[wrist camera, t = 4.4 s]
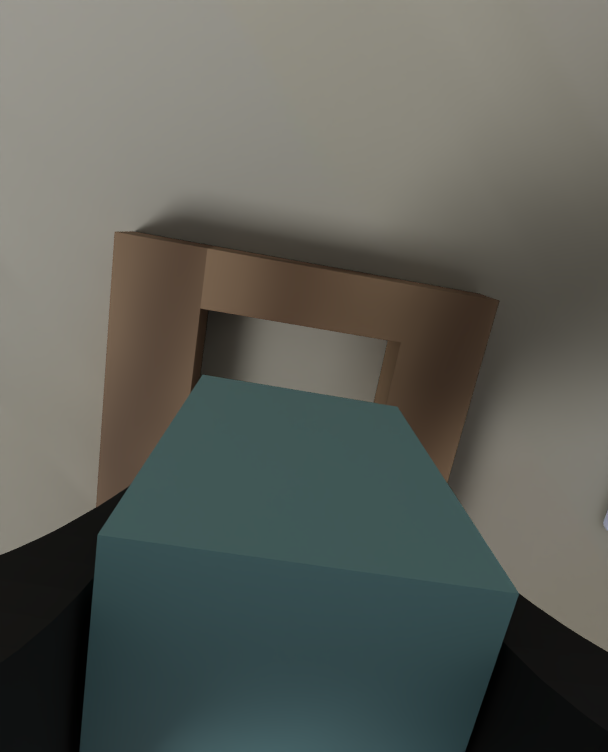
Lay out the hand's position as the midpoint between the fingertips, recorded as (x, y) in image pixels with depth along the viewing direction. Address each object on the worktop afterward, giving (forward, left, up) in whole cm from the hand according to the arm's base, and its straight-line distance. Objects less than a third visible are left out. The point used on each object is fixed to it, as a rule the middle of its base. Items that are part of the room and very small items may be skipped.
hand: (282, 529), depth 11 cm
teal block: (0, 0, -2) cm, 2 cm away
